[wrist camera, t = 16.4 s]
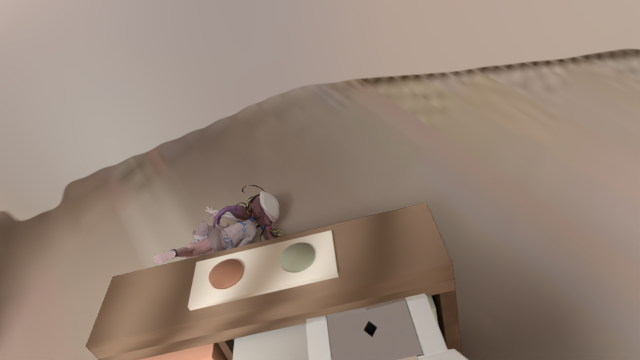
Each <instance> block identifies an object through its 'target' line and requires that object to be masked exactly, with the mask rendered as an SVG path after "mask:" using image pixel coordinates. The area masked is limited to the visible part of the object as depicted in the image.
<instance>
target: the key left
mask: <svg viewBox="0 0 640 360" xmlns="http://www.w3.org/2000/svg"><path fill="white" fill-rule="evenodd" d="M233 341H234V339H233ZM140 360H228V358H227V357H226V355H225V354H224V352H223V351H222V349H221V348H220V346H219V345H218V343H213V344H208V345H204V346H199V347H195V348H190V349H186V350H181V351H177V352H172V353H168V354H163V355H158V356H154V357H149V358H145V359H140Z"/></svg>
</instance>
